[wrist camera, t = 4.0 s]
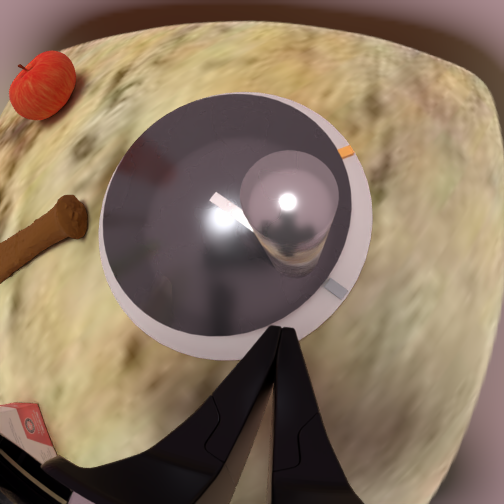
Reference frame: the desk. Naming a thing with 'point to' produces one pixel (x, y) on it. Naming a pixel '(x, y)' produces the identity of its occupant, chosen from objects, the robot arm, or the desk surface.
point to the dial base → (306, 314)
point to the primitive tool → (43, 234)
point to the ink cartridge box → (26, 429)
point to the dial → (227, 215)
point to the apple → (43, 86)
